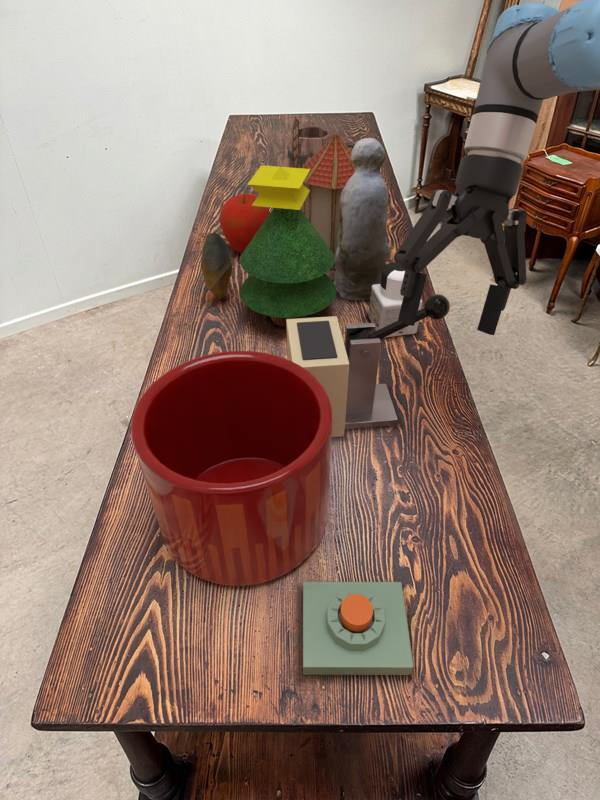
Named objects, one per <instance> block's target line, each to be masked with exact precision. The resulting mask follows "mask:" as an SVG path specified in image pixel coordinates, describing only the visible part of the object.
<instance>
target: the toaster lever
mask: <svg viewBox="0 0 600 800" xmlns="http://www.w3.org/2000/svg"><path fill="white" fill-rule="evenodd" d="M450 309H451V303H450V301H449V299H448V298H447V297H446V296H445V295H443V294H438V293H437V294H436V293H435V294H433V295H431V296H429V297H427V299H426V300H425V301H424V307H423V308H421V310H419V311H418V312H417V316H416V320H415V323H416V322H418V321H419V322H420V321H422V320H424V319H426V318H429V319H431V320H442V319H444V318H445V317H447V315H448V313H449V312H450ZM419 322H418V323H419ZM407 326H409V325H407V324H405V323H403V322H400V321H396V322H394V323H392V324H389V325H387V326H385V327H383V328H381V329H379V330H377V331H376V330H375V332H373V333H371V334H369V333H368V331H367V330H366V329H365V330H363V331H361V332H359V333H357V334H355V335H353V336H351V337H350V340H361V339H376V338H380V340H382V339H385V338H384V337H386V336H388V335H390V334H393V333H395V332H397V331H399V330H401V329H403V328H405V327H407ZM386 338H387V337H386Z"/></svg>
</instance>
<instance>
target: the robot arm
mask: <svg viewBox="0 0 600 800" xmlns="http://www.w3.org/2000/svg"><path fill="white" fill-rule="evenodd" d="M587 91H600V0H579V1H577V2H575V4H573V5H571V6H569V7H568V8H565V9H563V10H559V9H558V8H556V7H554V6H552V5H549V4H544V3H539V2H526V3H523V4H521V5H520V4H515V5H512V6H509V7H507V8H506V9H505V10H504V11H503V12H502V13H501V14H500V15H499V17H498V19H497V21H496V24H495V27H494V31H493V34H492V37H491V39H490V41H489V45H488V47H487V50H486V58H485V62H484V67H483V71H482V74H481V78H480V82H479V86H478V90H477V94H476V100H475V103H474V108H473V112H472V116H471V119H470V123H469V126H468V131H467V134H466V138H465V143H464V147H463V150H464V152H465V153H466V155H463V157H462V158H460V162H459V165H458V170H457V173H456V176H455V182H454V186H455V189H456V190H455V192H454V194H453V193H452V191H451V190H447V189H434V190H433V191H432V193H431V194H430V197H429V200H428V203H427V206H426V207H425V208H426V209H425V210H424V211H423V213H422V214H421V216H420V217H419V219H418V220H417V221H416V222H415V225H413V227H412V228H411V230H410V231H409V233H408V234H407V236H406V237H405V239H404V240H403V242H402V243H401V245H400V246H399V247H398V249H396V250H397V251H396V252H395V253H394V255H393V262H398V263H399V264H401V267H402V268H404V269H405V273H404V278H403V282H402V287H401V290H400V293H401V295H402V296H404V297H403V301H402V305H401V309H400V313H399V317H398V321H400V322H403V323H405V324H407V325H411V326H414V324H415V320H416V316H417V312H418V309H419V305H420V301H421V300H422V297H423V292H424V289H425V284H426V281H427V278H428V277H427V276H428V274H427V273H423V272H422V271H424V270H425V268H426V267H427V266H429V265H430V264H431V263H432V262H433V261H434V260H435V259H436V258H438V256H440V254H441V253H442V252H444V250H446V249H447V247H449V246H450V245H451V244H452V243H453V242H454V241H456V239H457V238H459V237H462V236H465V237H471V238H473V239H479V240H480V242H481V243H482V244H483V245H484V248H485V252H486V255H487V258H488V261H489V265H490V268H491V271H492V275H493V277H494V281H495V284H489V287H488V290H487V294H486V298H485V301H484V303H483V304H484V305H483V308H482V311H481V315H480V318H479V321H478V325H477V328H476V330H477V332H481V333H484V334H486V335H490V336H495V334H496V330H497V327H498V324H499V320H500V317H501V314H502V312H504V311H505V309H506V306H507V303H508V300H509V298H510V294H511V290H512V289H513V290H518V288H519V287H520V285H521V286H524V285H525V284H526V283H527V262H526V260H527V259H526V241H525V240H526V239H525V228H526V227H525V226H526V221H527V217H528V212H527V210H526V209H516V208H510V201H511V199H513V198H514V197H515V196H516V195H517V192H518V188H519V185H520V181H521V179H522V175H523V172H524V167H523V165H522V164H521V162H524V161H525V160H527V158H528V155H529V151H530V147H531V143H532V140H533V136H534V134H535V130H536V129H535V128H536V127H537V126H536V125H537V123H538V119H539V115H540V112H541V109H542V107H543V103H544V100H548V99H551V98H555V97H559V96H564V95H567V94H574V93H578V92H587ZM449 210H450V214H451V215H450V216H449V217H448V218H446V220H445V221H444V222H443V223H442V224H441V225H440V228H439V229H438V230H437V231H436V232H435V233H434V231H435V230H436V229H437V227H438V225H439V224H440V222H441V221H442V220H443V218H444V217H445V215H446V214H447V211H449ZM433 233H434V234H433ZM432 234H433V235H432Z"/></svg>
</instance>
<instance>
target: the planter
mask: <svg viewBox="0 0 600 800" xmlns="http://www.w3.org/2000/svg"><path fill="white" fill-rule="evenodd" d="M130 433H131V441H132V444H133V448H134V451H135V454H136V458H137V461H138V465H139V467H140V471H141V474H142V477H143V481H144V483H145V486H146V490H147V493H148V496H149V499H150V503H151V505H152V508H153V512H154V515H155V518H156V521H157V524H158V527H159V530H160V533H161V537H162V540H163V542H164V545H165V547H166V548H167V550H168V553H169V554H170V555H171V556H172V558H173V559H174V560H175V561H176V562H177V563H178V565H179V566H181V567H182V568H183V569H184V570H186V571H187V573H190V574H192V575H194V576H195V577H197V578H199V579H201V580H204V581H206V582H210V583H212V584H216V585H217V584H218V585H223V586H232V587H233V586H234V587H236V586H237V587H244V586H253V585H259V584H262V583H267V582H270V581H273V580H275V579H277V578H280V577H282V576H284V575H286V574H288V573H289V572H292V571H293V570H294V569H296V568H297V567H298V566H299V565H301V564H302V563H303V562H304V561H305V560H306V559H307V558H308V557H309V556H310V555H311V553H312V552H314V550H315V549H316V547H317V546H318V545H319V543H320V541H321V539H322V536H323V534H324V531H325V529H326V526H327V522H328V521H327V520H328V514H329V499H330V480H331V478H330V477H331V457H332V438H333V437H332V408H331V404H330V400H329V397H328V395H327V393H326V391H325V389H324V387H323V386H322V385H321V384H320V382H319V381H318V380H317V379H316V378H315V377H314V376H313V375H312V374H311V373H310V372H309V371H307V370H306V369H304V368H303V367H301V366H300V365H298V364H296V363H294V362H292V361H290V360H288V359H287V358H284V357H281V356H279V355H276V354H271V353H267V352H262V351H251V350H232V351H231V350H230V351H220V352H215V353H209V354H205V355H202V356H199V357H195V358H193V359H190V360H187V361H185V362H183V363H180V364H179V365H177V366H175V367H173V368H171V369H170V370H168V371H167V372H165V373H164V374H162V375H161V376H159V377H158V378H157V379H155V381H154V382H153V383H151V385H149V386H148V388H147V389H146V391H144V392H143V394H142V395H141V397H140V399H139V401H138V402H137V404H136V405H135V408H134V411H133V414H132V418H131V425H130Z"/></svg>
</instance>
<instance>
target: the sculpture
mask: <svg viewBox="0 0 600 800" xmlns="http://www.w3.org/2000/svg"><path fill="white" fill-rule="evenodd" d="M354 144H355V146H354V148H352V150H351V151H352V153H351V162H352V163H353V164H354V167H355V172H354V174H353V175H352V177H351V178H350V179H349V180H348V182H347V183H346V185H345V187H344V189H343V191H342V193H341V196H340V205H339V211H340V214H339V216H340V224H339V229H338V235H337V236H338V243H337V249H336V254H335V266H336V267H335V269H334V270H335V272H334V280H333V283H334V284H335V286H336V293H338V295H339V297H340V298H342V299H344V300H349V301H356V302H357V301H370V298H371V288H372V285H375V284H380V282H381V273H382V268H383V267H384V266H385V265H387V260H388V258H389V256H390V253H391V250H390V248H389V243H388V238H387V225H388V208H389V201H390V200H389V192H388V191H389V190H388V188H387V184H386V182H385V179H384V178H383V177H382V175H381V168H382V167H383V165H384V162H385V160H386V157H387V156H386V154H387V153H386V150H385V148H384V147H383V145H382V144H381V143H380V142H379V140H377V139H376V138H373V137H366V138H361V139H359V140H358V141H356V143H354Z"/></svg>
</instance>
